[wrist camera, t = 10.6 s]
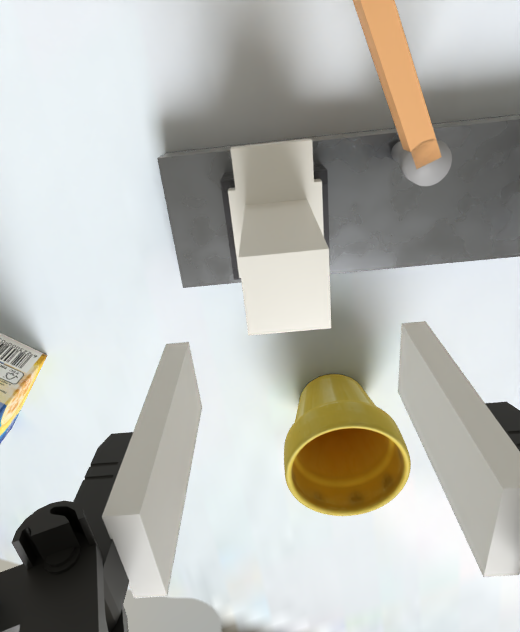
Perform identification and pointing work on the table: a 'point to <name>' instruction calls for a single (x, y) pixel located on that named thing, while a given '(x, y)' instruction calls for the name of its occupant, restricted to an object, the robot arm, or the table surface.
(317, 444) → the plant pot
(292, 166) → the plug
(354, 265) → the power strip
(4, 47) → the table surface
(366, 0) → the orange rectangular bar
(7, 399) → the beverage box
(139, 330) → the table surface
